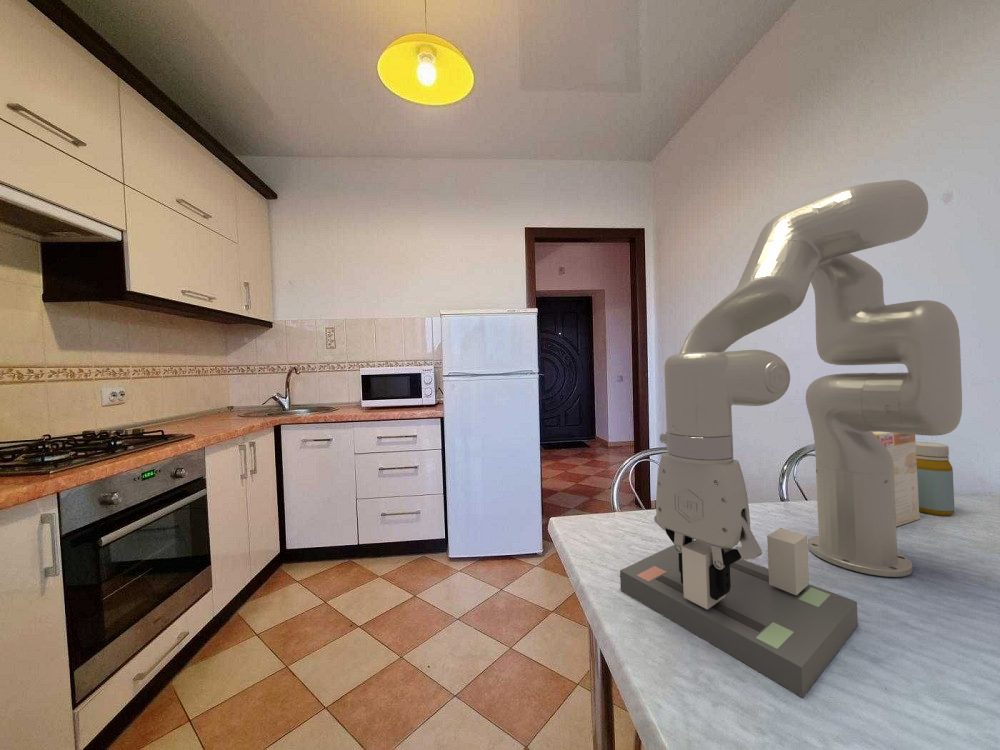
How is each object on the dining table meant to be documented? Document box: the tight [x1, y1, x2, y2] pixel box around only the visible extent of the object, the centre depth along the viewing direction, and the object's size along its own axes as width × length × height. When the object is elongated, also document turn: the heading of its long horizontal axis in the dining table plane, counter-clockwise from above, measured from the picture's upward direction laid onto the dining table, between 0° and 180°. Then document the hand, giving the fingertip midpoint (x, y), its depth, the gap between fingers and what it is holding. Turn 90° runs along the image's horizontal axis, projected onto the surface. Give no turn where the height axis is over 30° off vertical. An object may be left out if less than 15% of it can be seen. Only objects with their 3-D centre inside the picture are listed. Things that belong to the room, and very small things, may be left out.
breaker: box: [766, 527, 810, 595], centre depth 48 cm, size 4×3×7 cm
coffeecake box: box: [872, 431, 921, 527], centre depth 76 cm, size 15×7×20 cm, turn 110°
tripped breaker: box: [682, 539, 725, 610], centre depth 46 cm, size 4×3×7 cm
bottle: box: [916, 441, 956, 517], centre depth 80 cm, size 7×7×15 cm
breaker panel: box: [619, 544, 859, 698], centre depth 49 cm, size 18×22×3 cm
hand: (704, 586), depth 46 cm, fingers closed on tripped breaker, 3 cm apart
